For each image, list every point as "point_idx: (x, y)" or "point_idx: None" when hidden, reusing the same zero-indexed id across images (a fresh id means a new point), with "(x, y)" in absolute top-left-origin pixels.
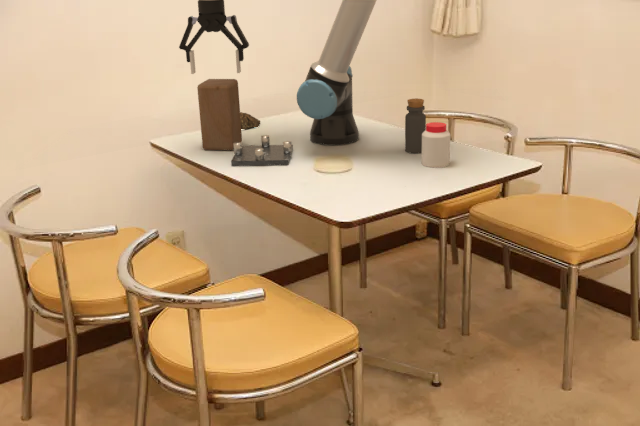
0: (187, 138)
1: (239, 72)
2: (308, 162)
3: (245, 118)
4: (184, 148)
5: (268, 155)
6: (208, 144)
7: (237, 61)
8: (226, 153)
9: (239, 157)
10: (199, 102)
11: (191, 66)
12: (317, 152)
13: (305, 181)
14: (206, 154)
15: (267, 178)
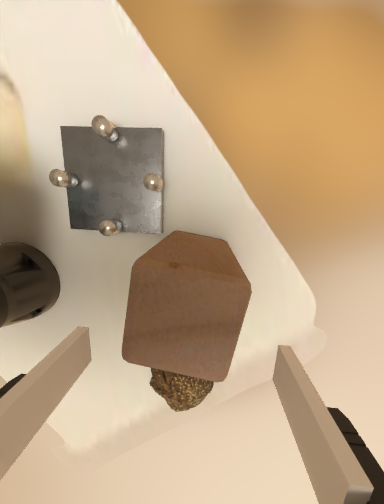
0: (261, 319)
1: (76, 328)
2: (37, 145)
3: (168, 377)
4: (260, 258)
5: (99, 161)
6: (216, 239)
7: (42, 366)
8: (183, 217)
9: (149, 152)
10: (238, 265)
11: (302, 374)
12: (35, 205)
13: (19, 17)
14: (217, 215)
15: (88, 42)
